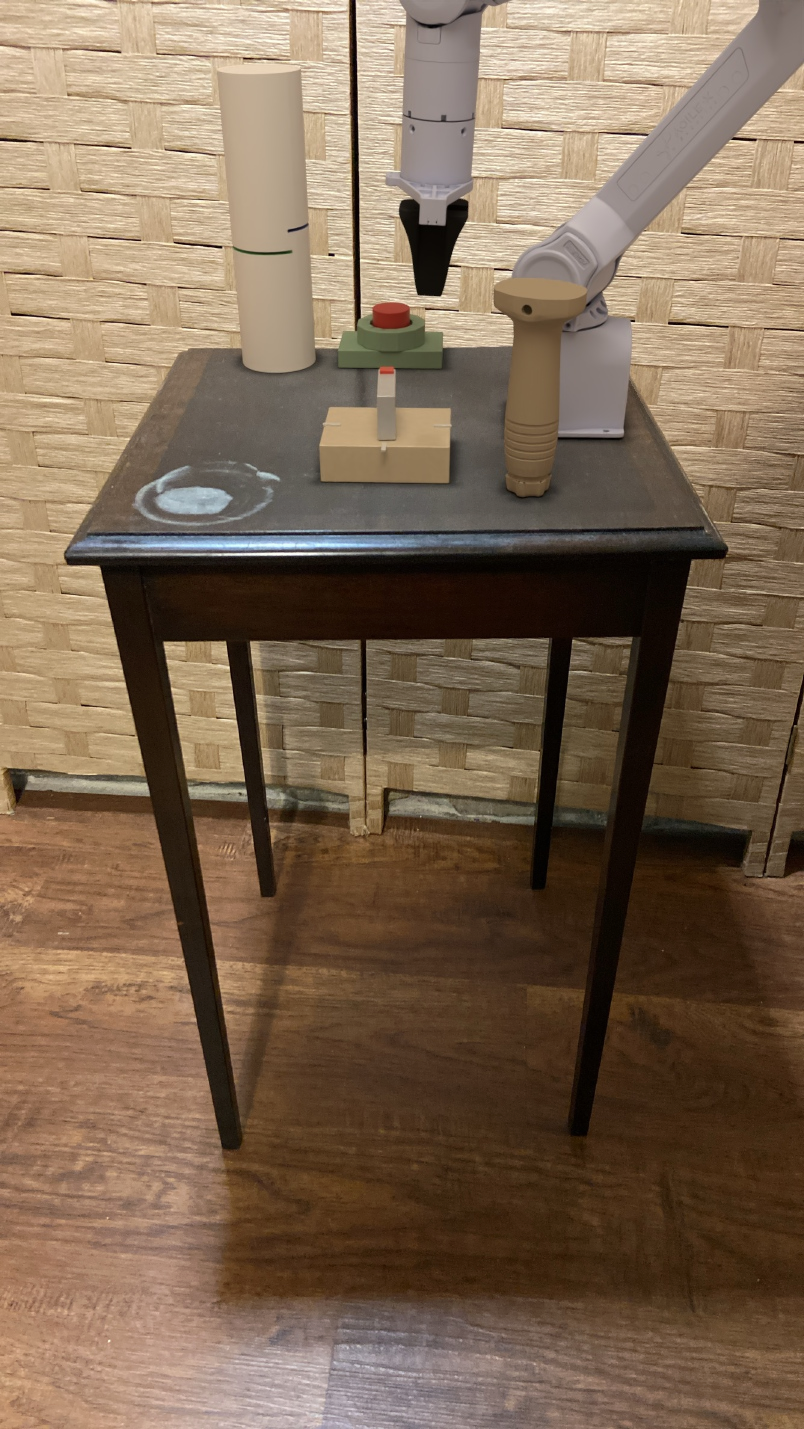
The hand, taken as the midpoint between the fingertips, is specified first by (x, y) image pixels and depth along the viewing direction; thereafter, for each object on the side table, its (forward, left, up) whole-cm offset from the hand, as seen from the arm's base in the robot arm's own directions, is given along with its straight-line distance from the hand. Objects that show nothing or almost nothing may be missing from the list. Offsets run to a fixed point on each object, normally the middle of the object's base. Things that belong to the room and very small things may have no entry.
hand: (429, 293), depth 96 cm
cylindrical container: (+15, -11, -10) cm, 21 cm away
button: (+4, -12, -6) cm, 14 cm away
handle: (-8, +18, -10) cm, 22 cm away
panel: (+3, +13, -9) cm, 17 cm away
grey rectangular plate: (+3, +13, -6) cm, 15 cm away
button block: (+4, -12, -9) cm, 15 cm away
